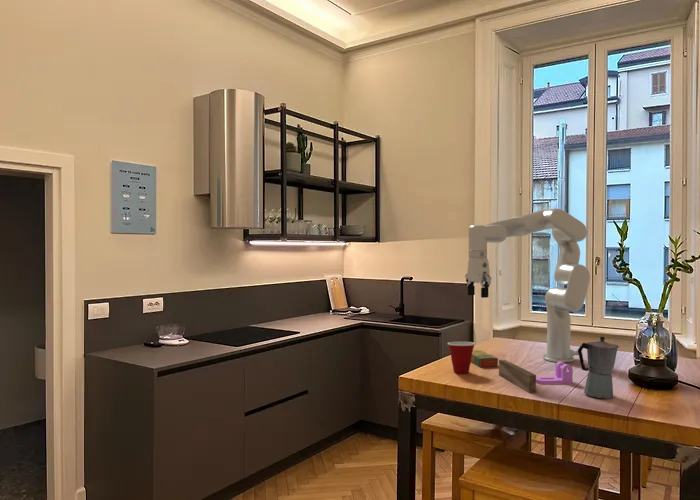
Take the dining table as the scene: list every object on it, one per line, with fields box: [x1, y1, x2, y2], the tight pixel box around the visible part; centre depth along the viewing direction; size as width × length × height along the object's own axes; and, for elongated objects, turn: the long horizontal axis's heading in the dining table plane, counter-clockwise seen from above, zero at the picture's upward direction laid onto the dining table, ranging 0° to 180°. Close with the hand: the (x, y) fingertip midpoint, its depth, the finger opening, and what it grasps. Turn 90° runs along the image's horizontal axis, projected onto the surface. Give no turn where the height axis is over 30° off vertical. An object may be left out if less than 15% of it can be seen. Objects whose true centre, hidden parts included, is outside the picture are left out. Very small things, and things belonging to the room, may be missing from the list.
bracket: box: [536, 362, 574, 385], centre depth 199 cm, size 13×6×7 cm, turn 95°
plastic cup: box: [447, 341, 476, 375], centre depth 213 cm, size 11×11×12 cm
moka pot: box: [577, 336, 620, 400], centre depth 181 cm, size 10×15×20 cm, turn 106°
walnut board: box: [498, 359, 537, 394], centre depth 196 cm, size 2×24×6 cm, turn 9°
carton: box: [471, 349, 499, 369], centre depth 229 cm, size 8×16×4 cm, turn 12°
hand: (477, 296), depth 223 cm, fingers open, 9 cm apart
